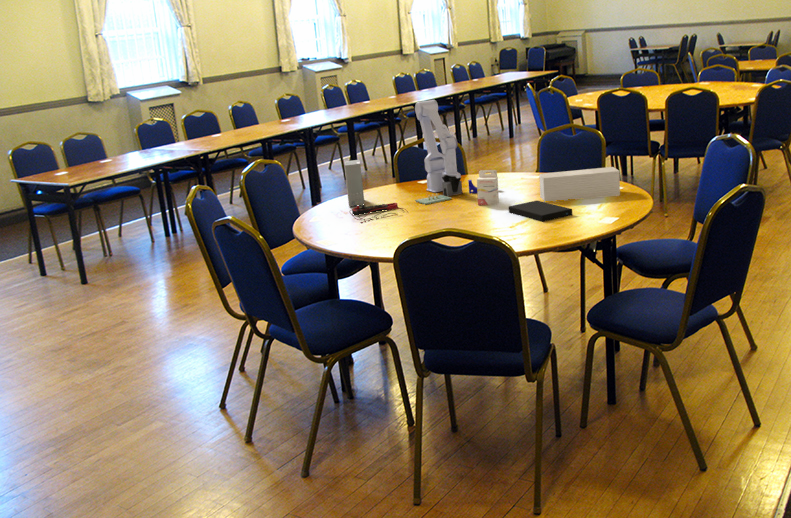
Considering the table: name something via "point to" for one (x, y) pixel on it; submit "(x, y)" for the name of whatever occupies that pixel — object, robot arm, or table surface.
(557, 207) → the external hard drive
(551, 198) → the long white block
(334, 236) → the table surface
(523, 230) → the table surface
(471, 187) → the cable clip
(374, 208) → the digital clamp meter
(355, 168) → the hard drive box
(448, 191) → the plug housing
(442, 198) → the board
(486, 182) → the ink cartridge box
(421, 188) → the table surface
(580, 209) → the table surface
